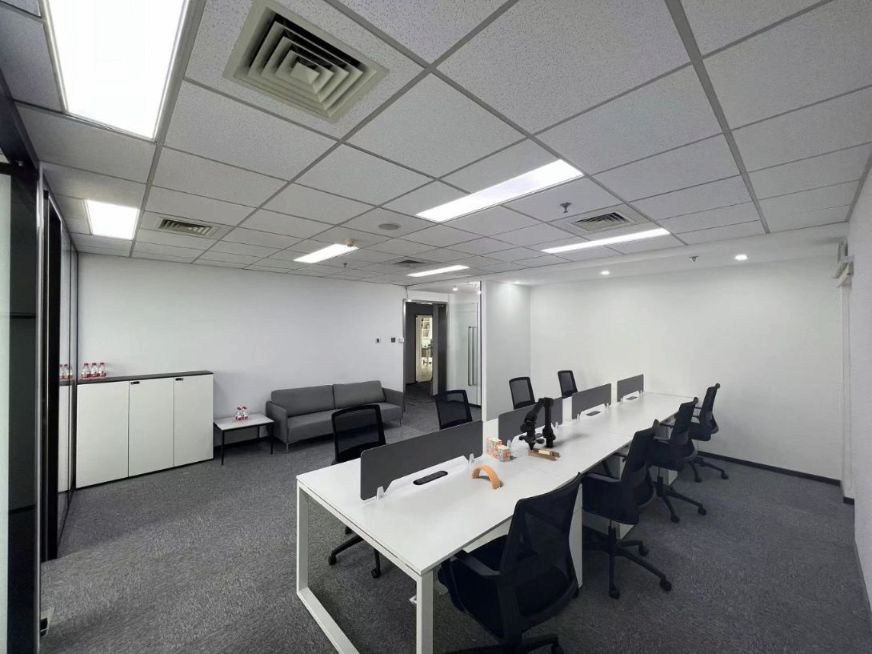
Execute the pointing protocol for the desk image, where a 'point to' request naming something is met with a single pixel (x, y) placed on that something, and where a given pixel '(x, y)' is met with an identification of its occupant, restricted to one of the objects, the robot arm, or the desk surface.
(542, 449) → the block
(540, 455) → the walnut chute
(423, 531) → the desk surface
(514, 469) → the desk surface
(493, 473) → the arch
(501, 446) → the stack of blocks
